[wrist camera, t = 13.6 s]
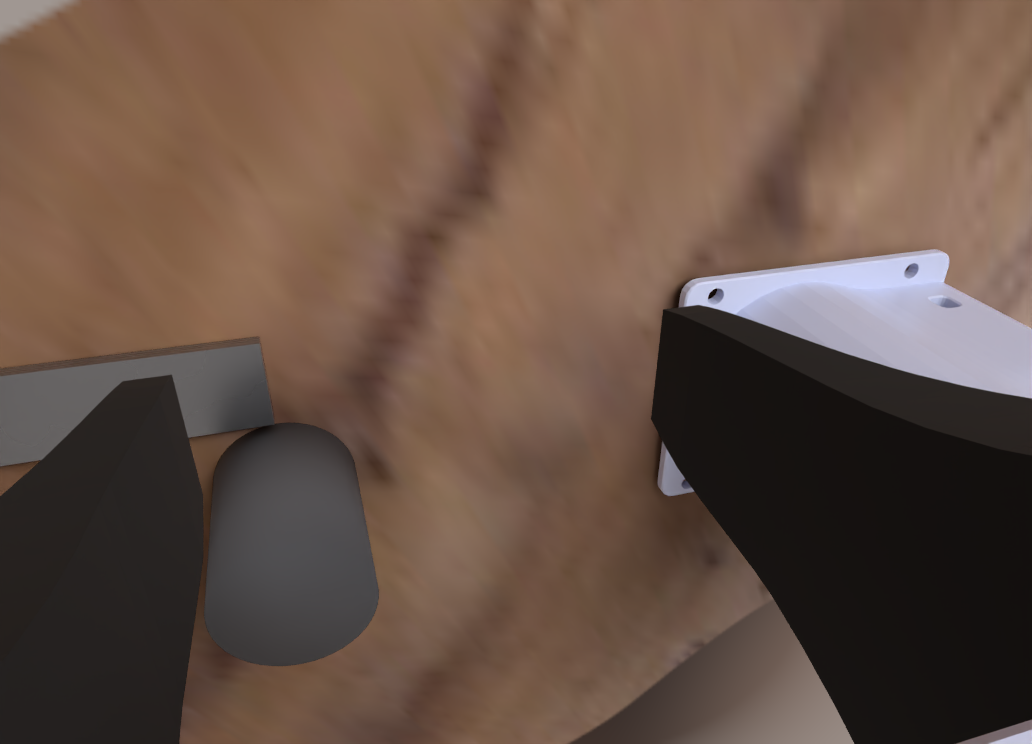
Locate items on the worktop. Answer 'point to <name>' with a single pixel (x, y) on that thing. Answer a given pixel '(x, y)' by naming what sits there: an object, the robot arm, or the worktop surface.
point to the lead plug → (287, 548)
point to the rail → (86, 382)
